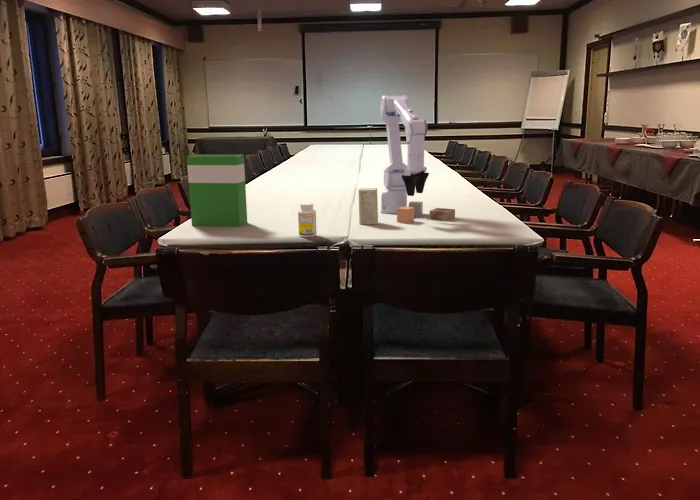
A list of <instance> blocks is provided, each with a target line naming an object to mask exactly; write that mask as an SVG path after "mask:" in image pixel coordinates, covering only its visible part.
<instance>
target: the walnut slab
mask: <svg viewBox="0 0 700 500" xmlns="http://www.w3.org/2000/svg"><path fill="white" fill-rule="evenodd" d="M455 218H456V209H455V208H442V207H435V208H433V209H431V210H429V219H428V220H431V221H443V222H449V221H452V220H454V219H455Z"/></svg>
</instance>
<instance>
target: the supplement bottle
mask: <svg viewBox="0 0 700 500" xmlns="http://www.w3.org/2000/svg"><path fill="white" fill-rule="evenodd" d="M316 213H317V210H316V209H314V203H312V202H302V203H301V202H300V209H299V210H298V211H297V215H298V216H297V217H298V220H297V221H298V235H299V237H300V238H301V237H302V238H313V237H315V236H316V235H317V214H316Z"/></svg>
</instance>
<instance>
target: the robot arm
mask: <svg viewBox="0 0 700 500" xmlns="http://www.w3.org/2000/svg"><path fill="white" fill-rule="evenodd" d="M409 107H410V101H409V97H408V96H407V95H405V94H404V95H382V96H381V97H380V101H379V110H380V118H381V120H382V121H384V123H385V127H386V128H385V129H386V137H387V146H388V147H387V148H388V157H389V164H388V166H386V168H385V169H384V170H383V186H384V189H383V190H382V192H381V196H380V197H381V198H380V199H381V204H380V205H381V210H380V213H381V214H382V213H383V214H394V215H397V208H400V207H408V197H414V196H415V193H416V194H423V192H424V188H425V185H426V182H427V179H428V177H429V174H430V173H429V172H427V171H428V168H427V166H425V137H426V136H427V135H428V134H427V133H428V122H427V120H426V119H425V118H420V117H419V115H418V114H417V113H416V112H415V111H414V109H413V108H409ZM400 122H401V123H402V125H403V126H404V133H405V137H406V138H405V139H406V140H405V141H406V142H407V154H406V155H407V160H406V161H407V162H406V163H407V164H405V163H404V162H403V153H402V142H401V134H400V124H399V123H400Z"/></svg>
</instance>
